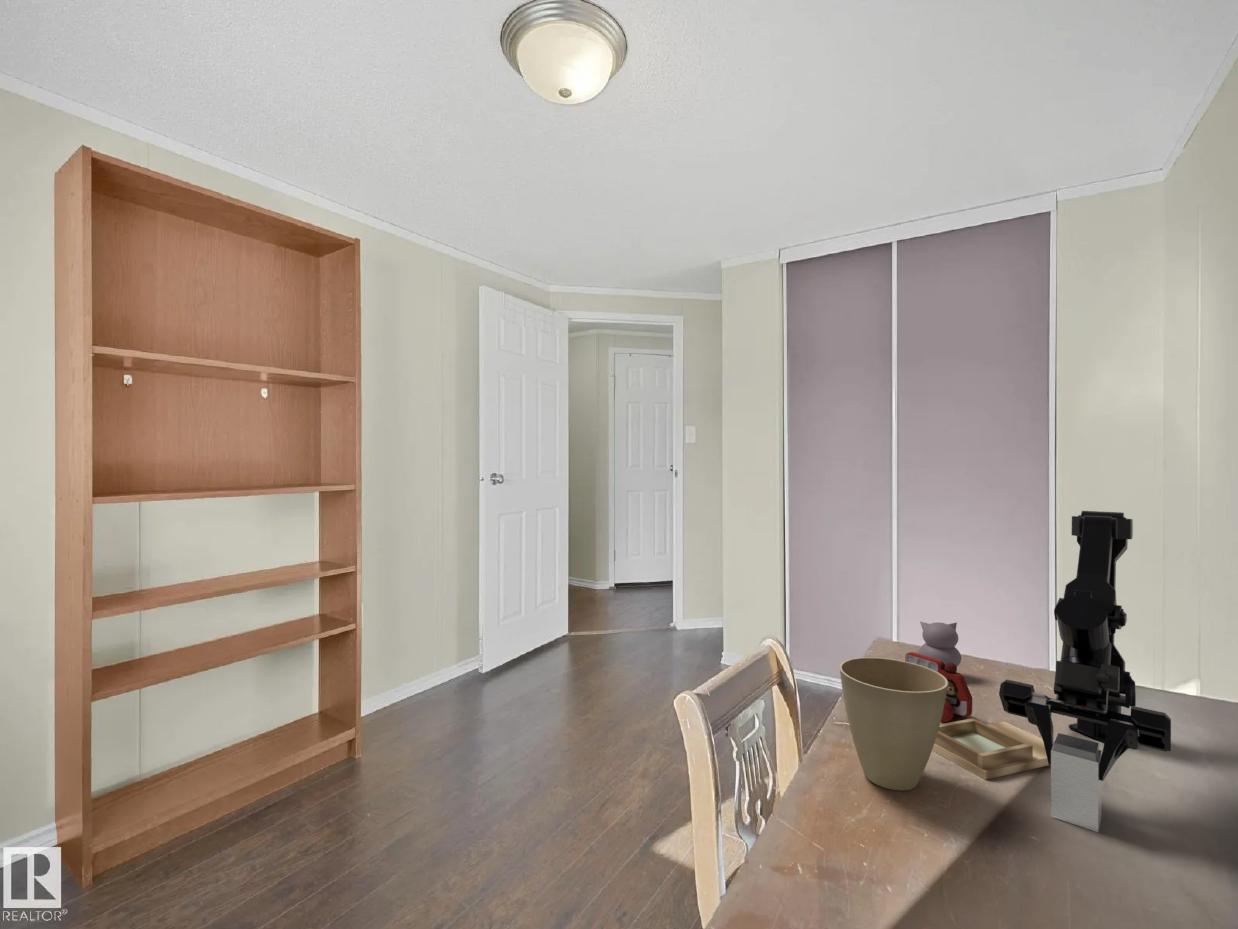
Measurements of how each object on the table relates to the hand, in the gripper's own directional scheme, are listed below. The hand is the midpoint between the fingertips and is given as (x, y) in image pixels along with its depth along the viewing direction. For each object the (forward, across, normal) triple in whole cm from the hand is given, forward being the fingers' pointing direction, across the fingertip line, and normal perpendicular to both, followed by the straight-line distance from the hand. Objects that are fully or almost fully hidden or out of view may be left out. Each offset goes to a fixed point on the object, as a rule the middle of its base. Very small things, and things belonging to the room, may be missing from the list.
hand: (1074, 772), depth 79 cm
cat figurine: (-29, -29, +38) cm, 56 cm away
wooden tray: (-6, -12, +15) cm, 20 cm away
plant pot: (+8, -22, +1) cm, 23 cm away
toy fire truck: (-13, -24, +23) cm, 35 cm away
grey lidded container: (+4, 0, +6) cm, 7 cm away
